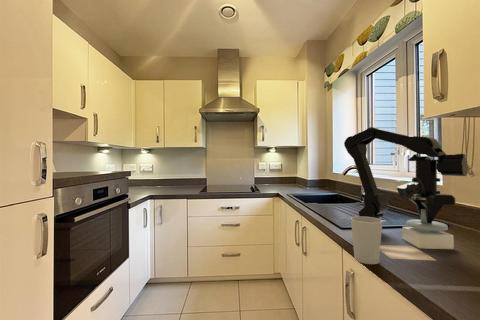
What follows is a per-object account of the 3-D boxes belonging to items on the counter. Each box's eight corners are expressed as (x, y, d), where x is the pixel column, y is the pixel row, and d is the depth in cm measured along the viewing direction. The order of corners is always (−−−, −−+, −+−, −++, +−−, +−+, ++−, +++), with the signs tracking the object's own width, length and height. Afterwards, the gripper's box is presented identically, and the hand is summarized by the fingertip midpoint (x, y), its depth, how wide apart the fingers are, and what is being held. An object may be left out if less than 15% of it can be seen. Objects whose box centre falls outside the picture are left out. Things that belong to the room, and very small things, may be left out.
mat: (373, 247, 84) (373, 244, 84) (412, 248, 83) (412, 245, 83) (391, 261, 72) (391, 258, 72) (436, 263, 71) (436, 260, 71)
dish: (402, 240, 91) (402, 226, 91) (432, 241, 90) (432, 227, 90) (419, 250, 81) (419, 234, 81) (453, 251, 80) (453, 235, 80)
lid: (400, 222, 92) (400, 206, 92) (433, 222, 90) (433, 207, 90) (418, 230, 81) (418, 212, 81) (456, 231, 79) (456, 213, 79)
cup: (374, 257, 76) (374, 216, 76) (388, 268, 68) (388, 223, 68) (347, 256, 76) (346, 216, 76) (357, 268, 68) (357, 222, 68)
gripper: (387, 173, 96) (387, 215, 96) (416, 176, 77) (416, 228, 77) (419, 173, 94) (419, 215, 94) (456, 176, 76) (456, 229, 76)
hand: (426, 221), depth 86 cm, fingers closed on lid, 3 cm apart
